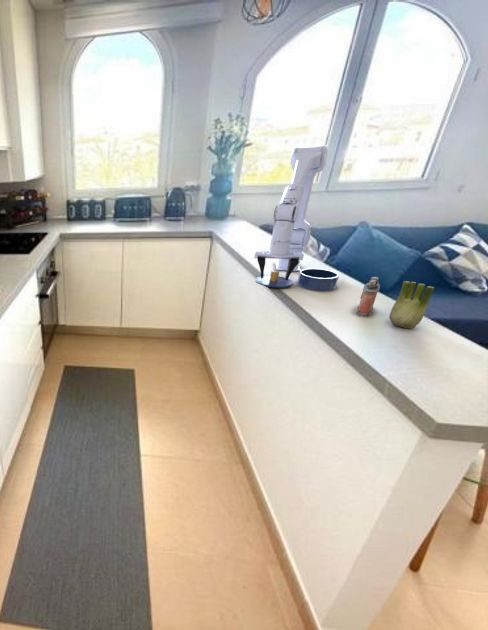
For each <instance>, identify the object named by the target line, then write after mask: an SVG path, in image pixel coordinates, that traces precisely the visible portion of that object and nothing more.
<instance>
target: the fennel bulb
mask: <svg viewBox="0 0 488 630" xmlns="http://www.w3.org/2000/svg"><path fill="white" fill-rule="evenodd" d="M401 285H402V286H401V289H400V292H399V295H398V298H397V299H396V301H395V302H394V304H393V306H392V308H391V310H390V312H389V314H388V315H389V316H388V317H389V321H390V322H391V324H393V325H395V326H396V327H399V328H402V329H414V328H415V327H417V326H418V325H419V324H420V323H421V321H422V320H423V318H424V316H425V314H426V312H427V308H428V304H429V302H430V299H431V296H432V294H433V292H434V290H435V286H430V285H429V286H427V287H426V284H424V283H418V284H417V282H416V281H407V280H404V281H403V282H402V284H401Z"/></svg>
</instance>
